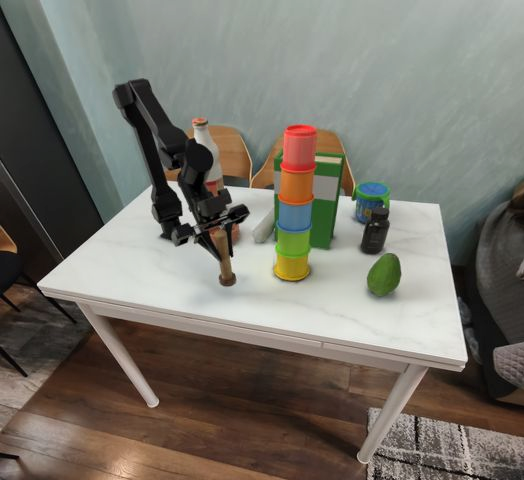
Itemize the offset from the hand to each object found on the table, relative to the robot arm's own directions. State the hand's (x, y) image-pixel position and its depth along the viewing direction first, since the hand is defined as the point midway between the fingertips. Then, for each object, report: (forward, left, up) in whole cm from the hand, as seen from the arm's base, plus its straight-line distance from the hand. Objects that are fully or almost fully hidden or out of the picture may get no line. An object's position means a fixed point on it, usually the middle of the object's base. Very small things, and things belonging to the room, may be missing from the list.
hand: (226, 259), depth 73 cm
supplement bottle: (+26, +39, -13) cm, 49 cm away
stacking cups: (+9, +18, -13) cm, 24 cm away
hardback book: (+5, +35, -13) cm, 38 cm away
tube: (-8, +38, -13) cm, 41 cm away
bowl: (-20, +24, -12) cm, 34 cm away
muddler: (-1, +1, -7) cm, 8 cm away
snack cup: (+19, +56, -13) cm, 60 cm away
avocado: (+34, +20, -13) cm, 41 cm away
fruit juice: (-33, +38, -13) cm, 52 cm away
